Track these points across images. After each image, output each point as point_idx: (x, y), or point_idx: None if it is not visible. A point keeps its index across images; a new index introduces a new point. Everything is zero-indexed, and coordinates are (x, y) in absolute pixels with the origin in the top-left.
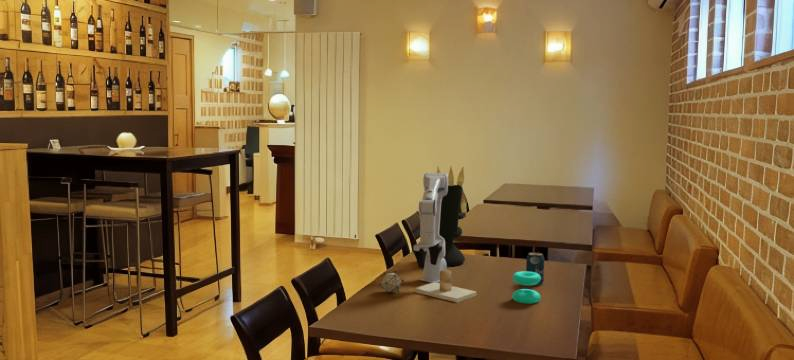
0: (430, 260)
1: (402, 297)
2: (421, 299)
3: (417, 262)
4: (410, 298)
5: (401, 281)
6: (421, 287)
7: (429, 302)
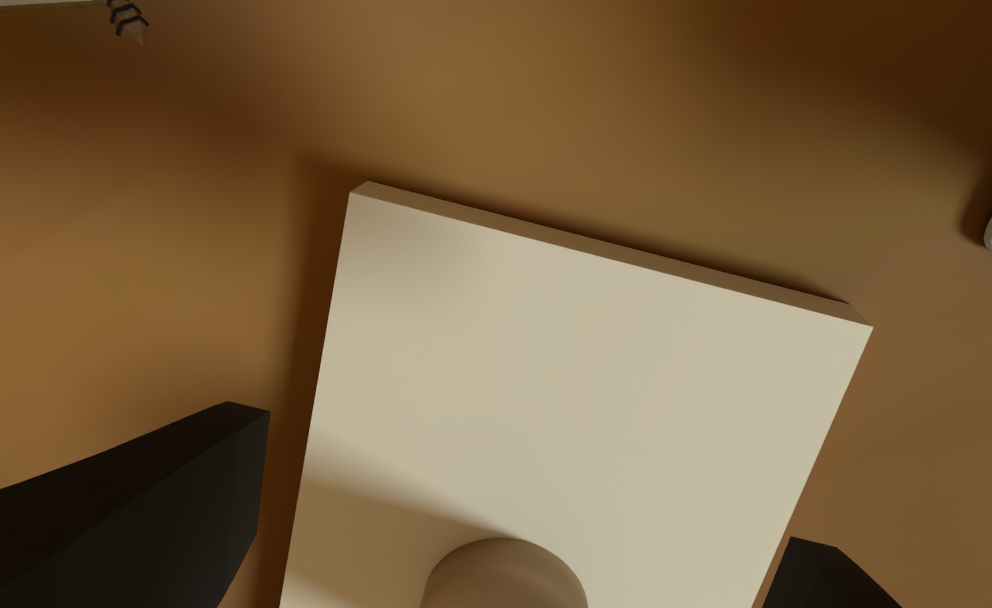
0: (831, 596)
1: (42, 141)
2: (129, 404)
3: (106, 456)
4: (76, 263)
5: (90, 5)
6: (450, 266)
7: None
